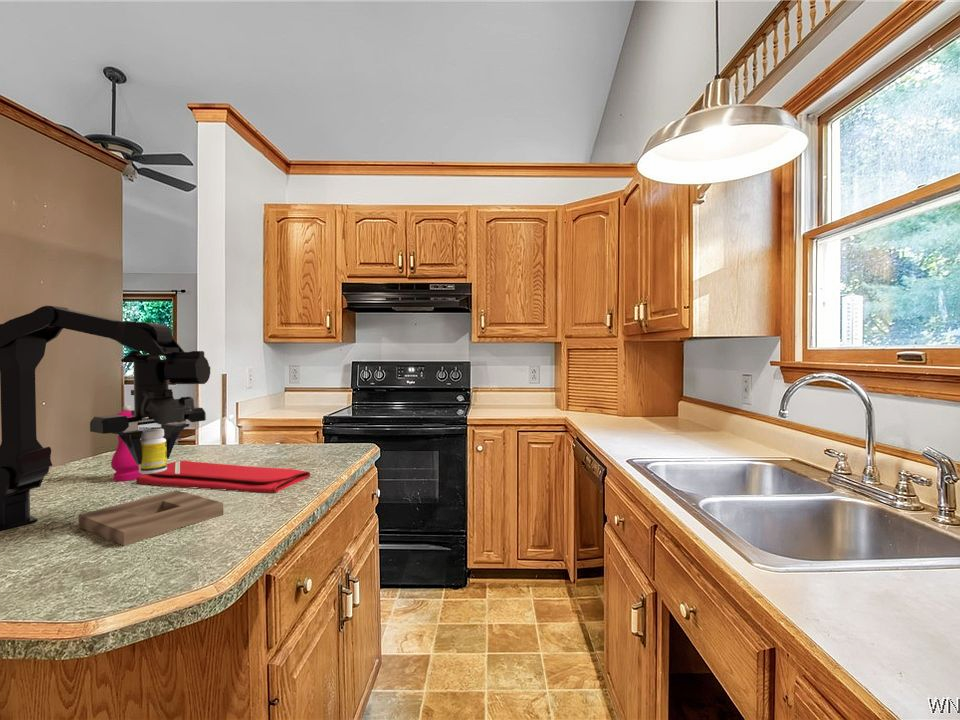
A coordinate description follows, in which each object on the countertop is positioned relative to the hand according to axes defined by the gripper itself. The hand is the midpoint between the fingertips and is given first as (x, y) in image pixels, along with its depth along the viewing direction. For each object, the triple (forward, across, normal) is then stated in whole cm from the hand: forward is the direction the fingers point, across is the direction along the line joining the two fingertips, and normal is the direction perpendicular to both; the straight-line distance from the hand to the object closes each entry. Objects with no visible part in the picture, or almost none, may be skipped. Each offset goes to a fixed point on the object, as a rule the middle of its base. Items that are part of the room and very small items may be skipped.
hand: (152, 461), depth 94 cm
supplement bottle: (+2, 0, 0) cm, 2 cm away
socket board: (+12, 0, 0) cm, 12 cm away
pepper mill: (+12, +13, +41) cm, 44 cm away
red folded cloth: (+13, +25, +16) cm, 32 cm away
